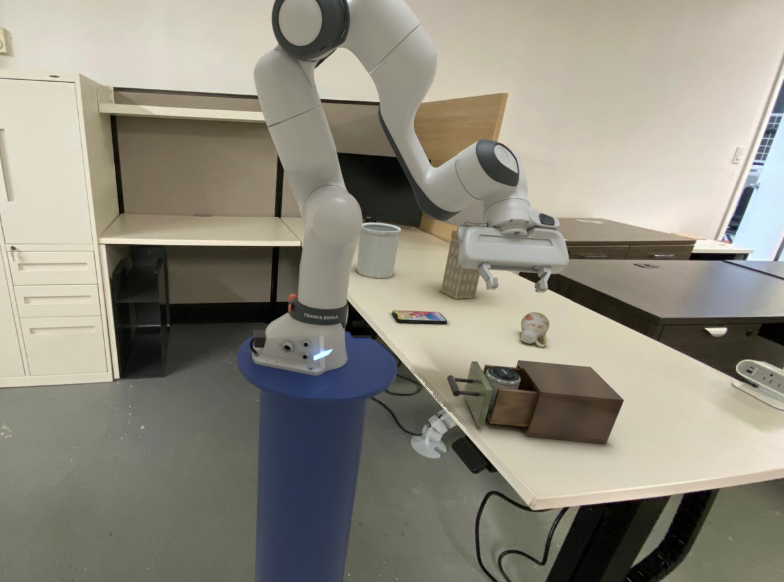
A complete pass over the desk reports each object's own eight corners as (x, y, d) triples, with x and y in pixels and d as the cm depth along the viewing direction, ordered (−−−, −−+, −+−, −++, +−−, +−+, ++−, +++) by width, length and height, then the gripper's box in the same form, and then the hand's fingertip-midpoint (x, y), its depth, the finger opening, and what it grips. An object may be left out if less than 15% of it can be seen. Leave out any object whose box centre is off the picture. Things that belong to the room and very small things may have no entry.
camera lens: (500, 397, 95) (510, 363, 92) (517, 414, 89) (528, 379, 86) (472, 398, 94) (481, 363, 90) (488, 415, 88) (497, 379, 85)
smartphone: (448, 321, 134) (398, 319, 132) (447, 324, 135) (397, 322, 132) (439, 311, 141) (391, 310, 139) (438, 314, 141) (391, 313, 139)
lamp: (407, 284, 166) (428, 154, 148) (463, 281, 176) (489, 158, 158) (450, 310, 146) (481, 162, 127) (511, 304, 155) (548, 165, 137)
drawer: (450, 423, 87) (459, 387, 84) (440, 391, 97) (447, 358, 94) (549, 432, 86) (562, 397, 83) (528, 400, 97) (538, 367, 94)
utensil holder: (387, 281, 168) (394, 233, 161) (349, 273, 174) (354, 226, 166) (399, 272, 180) (406, 226, 173) (363, 265, 186) (368, 220, 178)
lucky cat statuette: (512, 343, 126) (517, 307, 127) (521, 349, 134) (526, 315, 135) (541, 345, 122) (546, 308, 123) (549, 351, 129) (554, 316, 130)
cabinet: (526, 436, 86) (541, 392, 82) (506, 400, 98) (517, 359, 94) (606, 444, 86) (624, 400, 82) (576, 407, 98) (590, 366, 93)
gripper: (462, 211, 86) (469, 278, 82) (567, 219, 88) (580, 285, 83) (450, 230, 92) (456, 294, 87) (548, 237, 94) (559, 300, 89)
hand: (517, 289), depth 85 cm, fingers open, 8 cm apart
